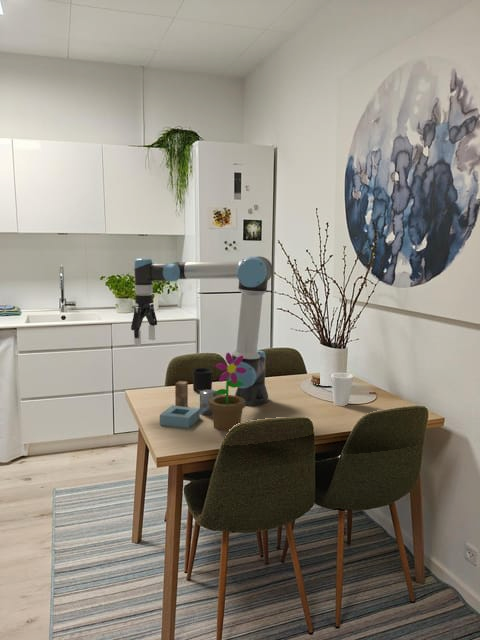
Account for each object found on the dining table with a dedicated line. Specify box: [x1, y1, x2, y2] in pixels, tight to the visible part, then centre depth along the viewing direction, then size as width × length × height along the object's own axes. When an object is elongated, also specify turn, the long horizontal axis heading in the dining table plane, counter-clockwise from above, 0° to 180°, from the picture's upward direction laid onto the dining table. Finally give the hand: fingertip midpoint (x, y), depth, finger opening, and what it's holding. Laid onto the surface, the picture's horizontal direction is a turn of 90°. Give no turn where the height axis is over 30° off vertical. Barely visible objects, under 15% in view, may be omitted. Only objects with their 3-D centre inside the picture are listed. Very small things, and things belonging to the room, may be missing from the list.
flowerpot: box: [209, 352, 247, 432], centre depth 195 cm, size 14×14×30 cm
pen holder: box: [192, 367, 213, 394], centre depth 242 cm, size 9×9×10 cm
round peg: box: [199, 389, 217, 417], centre depth 211 cm, size 7×7×9 cm
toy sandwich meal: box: [310, 374, 321, 385], centre depth 258 cm, size 12×14×5 cm
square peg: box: [174, 380, 189, 407], centre depth 217 cm, size 4×4×11 cm
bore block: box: [159, 405, 201, 429], centre depth 201 cm, size 12×12×4 cm
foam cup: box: [330, 372, 354, 407], centre depth 225 cm, size 10×9×13 cm
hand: (145, 342), depth 224 cm, fingers open, 13 cm apart
